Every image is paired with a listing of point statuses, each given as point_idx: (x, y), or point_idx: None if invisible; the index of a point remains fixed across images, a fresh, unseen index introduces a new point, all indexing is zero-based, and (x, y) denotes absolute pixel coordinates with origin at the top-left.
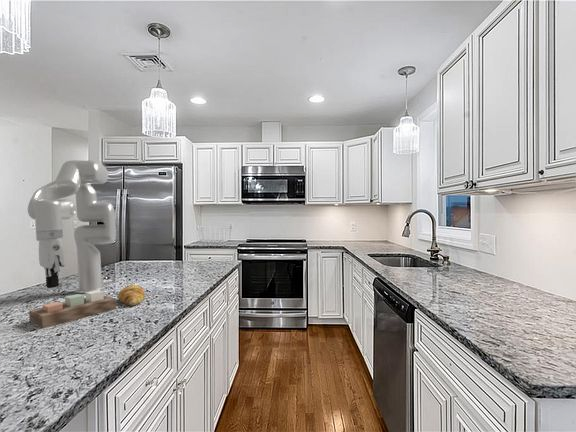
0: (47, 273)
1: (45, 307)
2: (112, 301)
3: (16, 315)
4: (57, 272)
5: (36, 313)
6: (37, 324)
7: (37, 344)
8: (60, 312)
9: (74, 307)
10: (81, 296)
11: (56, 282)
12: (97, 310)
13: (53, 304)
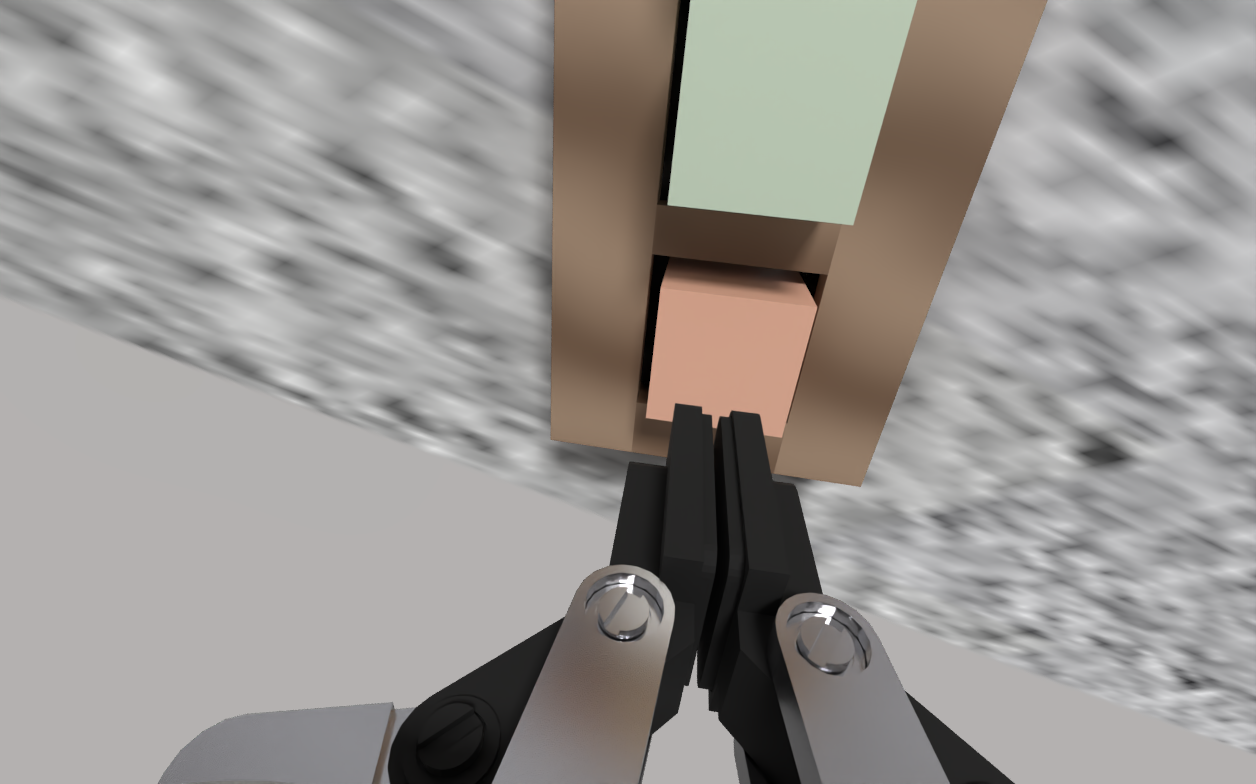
0: (645, 755)
1: None
2: None
3: (304, 351)
4: (993, 773)
5: None
6: None
7: (1099, 577)
8: (905, 362)
9: (908, 200)
10: (900, 41)
11: (796, 506)
12: None
13: (739, 365)
